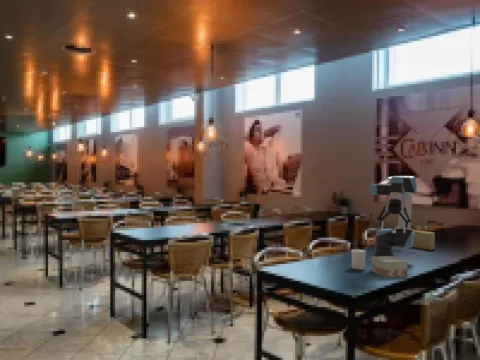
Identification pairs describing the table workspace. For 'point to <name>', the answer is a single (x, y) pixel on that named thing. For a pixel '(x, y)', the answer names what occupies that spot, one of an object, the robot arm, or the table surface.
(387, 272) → the bottom block
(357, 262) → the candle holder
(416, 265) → the table surface
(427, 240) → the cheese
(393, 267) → the top block
